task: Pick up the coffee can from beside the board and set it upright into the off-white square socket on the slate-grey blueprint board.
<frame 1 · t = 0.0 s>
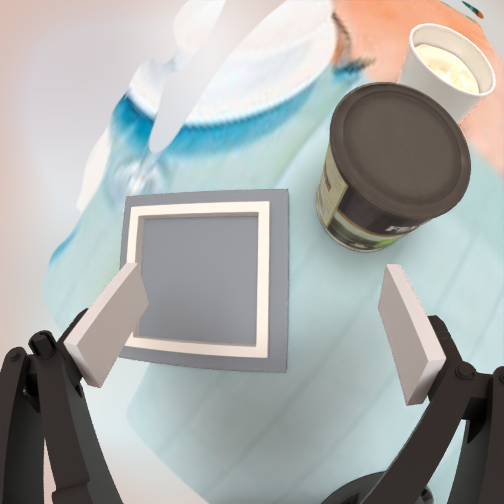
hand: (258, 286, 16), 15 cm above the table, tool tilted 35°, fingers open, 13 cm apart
candle holder: (419, 116, 32), on the table
coffee can: (362, 204, 31), on the table
blueprint board: (200, 279, 32), on the table
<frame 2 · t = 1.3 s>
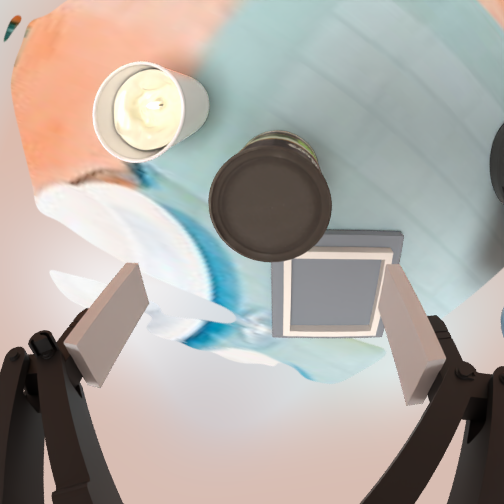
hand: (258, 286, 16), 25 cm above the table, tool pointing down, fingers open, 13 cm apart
candle holder: (179, 106, 35), on the table
coffee can: (277, 169, 38), on the table
blueprint board: (333, 286, 45), on the table
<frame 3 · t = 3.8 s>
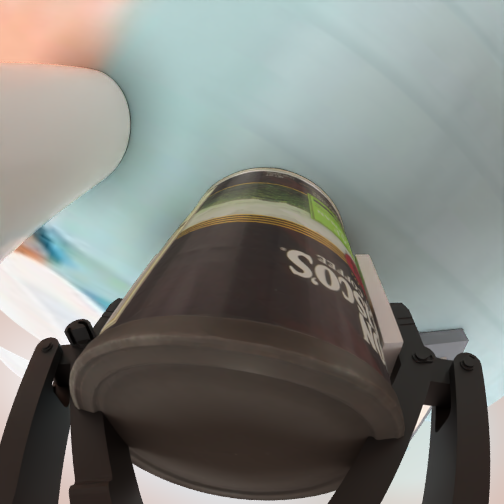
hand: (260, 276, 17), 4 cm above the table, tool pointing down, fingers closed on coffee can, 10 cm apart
candle holder: (82, 126, 18), on the table
coffee can: (265, 243, 20), on the table, touching gripper
blueprint board: (351, 400, 27), on the table
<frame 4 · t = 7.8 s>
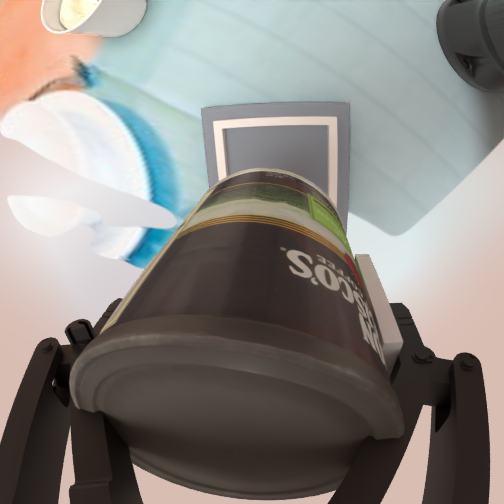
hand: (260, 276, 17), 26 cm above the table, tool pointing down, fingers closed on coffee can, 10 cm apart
candle holder: (121, 12, 30), on the table
coffee can: (264, 243, 20), point 22 cm above the table, touching gripper
blueprint board: (278, 171, 39), on the table
when the fingers open (6 cm above the table, at t = 12.1 s): coffee can drops 1 cm, resting on blueprint board.
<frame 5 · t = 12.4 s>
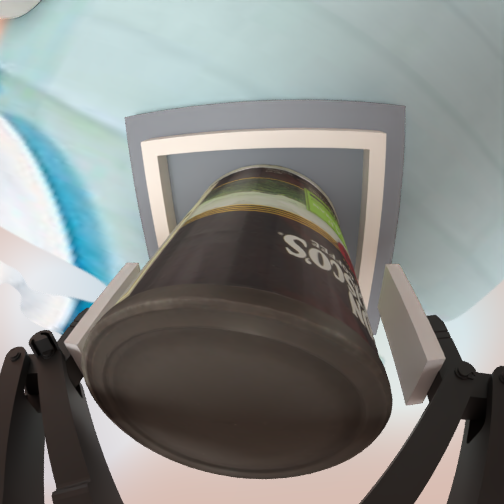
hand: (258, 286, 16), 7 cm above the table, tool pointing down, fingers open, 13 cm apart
coffee can: (263, 236, 21), point 1 cm above the table, touching blueprint board
blueprint board: (268, 228, 22), on the table
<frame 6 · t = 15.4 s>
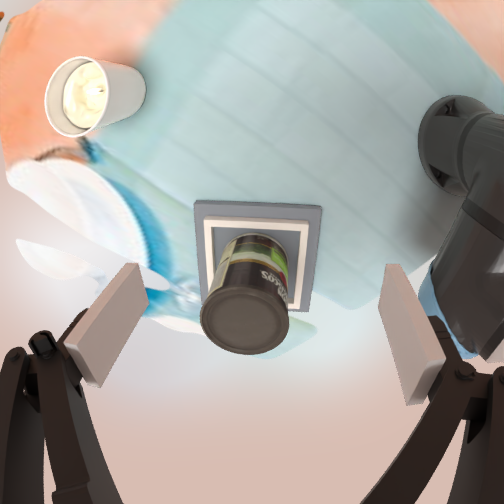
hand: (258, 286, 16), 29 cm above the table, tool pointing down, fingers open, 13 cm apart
candle holder: (122, 92, 38), on the table
coffee can: (254, 262, 47), point 1 cm above the table, touching blueprint board
blueprint board: (256, 257, 48), on the table
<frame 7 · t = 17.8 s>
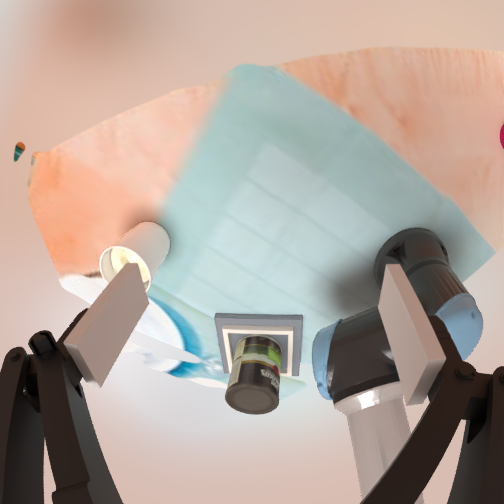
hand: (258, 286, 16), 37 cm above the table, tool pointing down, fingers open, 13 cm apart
candle holder: (151, 240, 58), on the table
coffee can: (258, 349, 67), point 1 cm above the table, touching blueprint board
blueprint board: (260, 345, 68), on the table
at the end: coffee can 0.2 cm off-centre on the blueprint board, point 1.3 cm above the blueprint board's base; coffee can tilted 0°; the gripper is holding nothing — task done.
